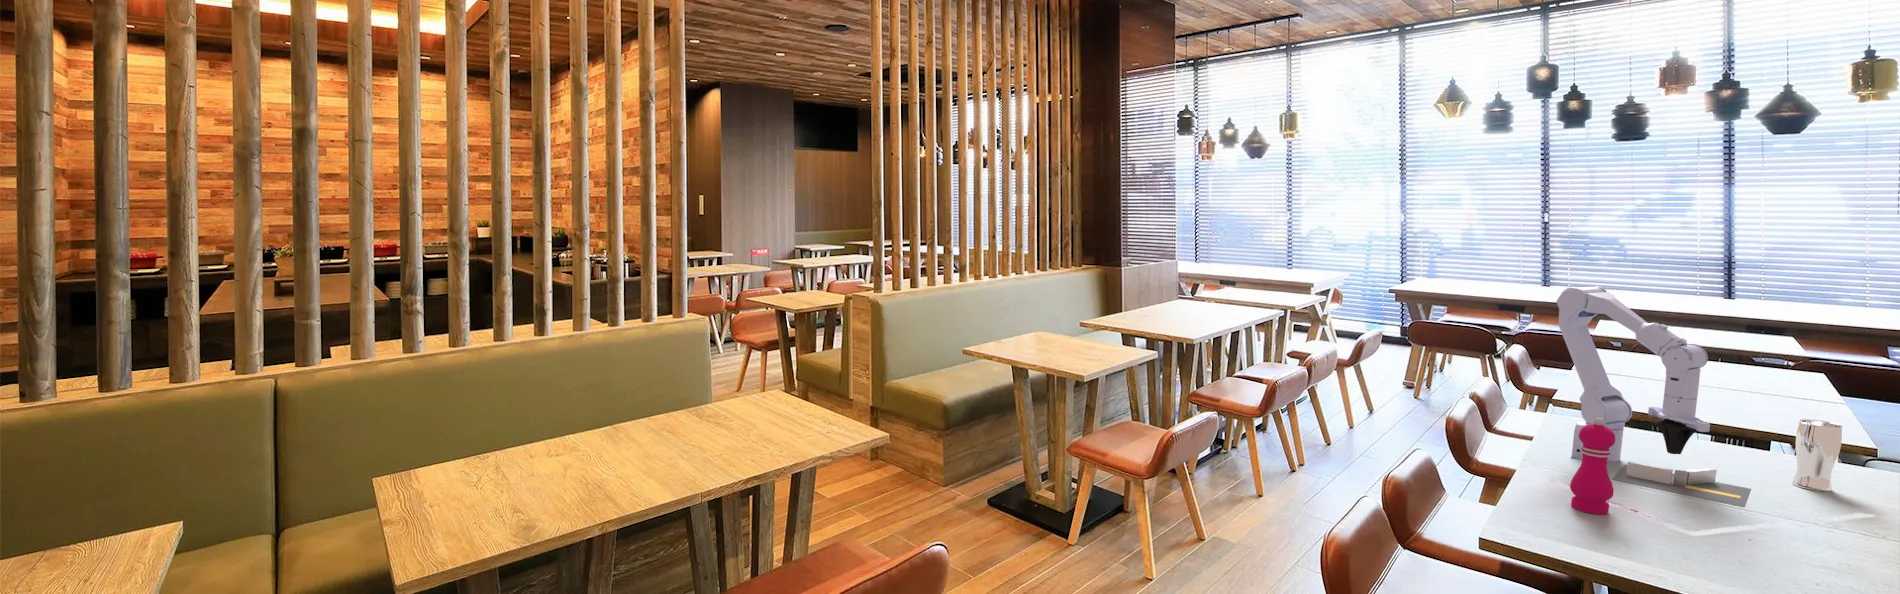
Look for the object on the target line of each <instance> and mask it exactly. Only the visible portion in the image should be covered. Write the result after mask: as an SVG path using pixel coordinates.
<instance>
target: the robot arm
mask: <svg viewBox="0 0 1900 594" xmlns="http://www.w3.org/2000/svg"><path fill="white" fill-rule="evenodd" d="M1555 302H1556V304H1557V307H1558V327H1559V329H1560V332H1561V335H1562V338H1563V340H1564V342H1565V344H1566V347H1567V350H1568V352H1569V355H1570V358H1571V360H1572V363H1573V365H1574V367H1575V370H1576V372H1577V375H1578V377H1579V380H1580V382H1581V385H1582V388H1583V392H1582V393H1581V395H1580V397H1579V402H1580V405H1581V408H1580V414H1581V417H1582V418H1583V420H1584V421H1577V422H1576V424H1575V427H1574V431H1573V440H1572V449H1571V456H1570V457H1571V458H1573V459H1582V458H1583V453H1582V452H1581V451H1580V450H1581V445H1583V443H1582V442H1581V440H1580V439H1579V432H1580V430H1581V428H1583V427H1584V426H1586V425H1589V424H1594V423H1593V420H1594V419H1595V418H1602V419H1603V420H1604V424H1603V426H1606V427H1608V428H1610V429H1611V430H1612V431H1613V432H1614V434H1615V443H1614V445H1613V446H1611V447H1610V448H1609V449H1610V450H1611V452H1610V454H1611V456H1610V457H1608V459H1607V462H1612V463H1613V462H1614V463H1615V462H1620V461H1621V457H1622V456H1621V455H1622V447H1623V446H1622V445H1623V436H1624V427H1625V425H1626V422H1628V421H1629V420H1630V419H1631V418H1632V416H1633V408H1632V405H1631V404H1630V403H1629V402H1628V401H1627V399H1625V397H1623V394H1622V392H1621V391H1620V390H1618V389H1617V388H1616V387H1614V386H1613V385H1612V384H1611V382H1610V379H1609V377H1608V374H1607V372H1606V370H1605V367H1604V365H1603V363H1602V359H1601V358H1600V355H1599V353H1598V349H1597V347H1596V344H1595V343H1594V340H1593V338H1592V336H1591V332H1590V331H1589V327H1588V325H1589V324H1590V322H1591V321H1592V319H1593V318H1594V317H1595V316H1597V315H1598V314H1601V315H1605V316H1607V317H1609V318H1611V320H1614V321H1615V322H1617V323H1618V324H1620V325H1621V326H1624V328H1627V329H1628V330H1630V331H1632V332H1633V333H1634V334H1635V339H1636V341H1637V342H1638V343H1640V345H1642V346H1644V347H1645V348H1647V349H1648V350H1649V351H1651V352H1652V353H1654V354H1655V355H1656V356H1657V357H1659V358H1660V360H1661V363H1662V364H1663V366H1664V367H1665V382H1664V391H1663V400H1662V408H1661V407H1659V406H1648V410H1647V411H1648V412H1647V415H1648V416H1653V417H1657V418H1660V419H1663V420H1662V421H1657V423H1656V425H1657V426H1658V428H1659V430H1660V432H1661V433H1662V437H1663V440H1664V443H1665V448H1666V452H1667V453H1668V454H1670V455H1682V453H1683V450H1684V448H1685V447H1686V444H1687V443H1688V441H1689V440H1690V438H1691V437H1692V436H1693V435H1694V434H1695V433H1696V432H1698V433H1700V432H1701V433H1710V428H1711V423H1709V422H1706V421H1705V420H1703V419H1701V418H1699V417H1697V416H1696V411H1697V405H1698V404H1697V402H1698V396H1699V386H1700V377H1701V369H1702V368H1704V366H1705V365H1707V363H1708V360H1709V356H1708V352H1707V351H1706V350H1705V349H1704V348H1703V347H1702V346H1701V345H1699V344H1697V343H1688V341H1687V339H1686V338H1682V337H1681V338H1680V337H1679V336H1677V335H1676V334H1675V333H1673V332H1671V331H1670V330H1669V326H1667V325H1666V324H1664V323H1658V322H1650V323H1649V322H1647V320H1644V318H1643V317H1641V316H1639V315H1638V314H1637V313H1636V312H1634V311H1633V310H1631V309H1630V308H1629V307H1628V306H1627V305H1625V304H1623V302H1621V301H1619V299H1618V298H1616V296H1615V295H1614V293H1612V292H1609V291H1607V289H1605V288H1604V287H1601V286H1598V285H1596V286H1588V287H1587V286H1585V287H1573V286H1572V287H1567V288H1565V289H1564V290H1563V291H1562V292H1561V293H1560V295H1559V296H1558V298H1557V300H1556V301H1555Z"/></svg>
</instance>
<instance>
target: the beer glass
mask: <svg viewBox="0 0 1900 594" xmlns="http://www.w3.org/2000/svg"><path fill="white" fill-rule="evenodd" d="M1842 435H1843V425H1841V424H1839V423H1835V422H1831V421H1825V420H1819V419H1808V418H1807V419H1805V418H1804V419H1800V420H1799V423H1798V427H1797V430H1796V436H1795V453H1796V454H1795V455H1796V463H1797V464H1796V465H1797V466H1796V467H1797V469H1796V471H1795V472H1796V473H1795V475H1794V478H1793V480H1792V485H1794V486H1795V487H1799V488H1802V489H1805V490H1809V491H1815V492H1831V491H1832V490H1833V489H1832V488H1833V487H1832V480H1831V479H1832V478H1831V477H1832V472H1833V469H1834V467H1835V464H1836V461H1837V460H1838V457H1839V455H1840V451H1841V447H1842V439H1843V438H1842Z"/></svg>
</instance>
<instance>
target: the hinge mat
mask: <svg viewBox="0 0 1900 594" xmlns="http://www.w3.org/2000/svg"><path fill="white" fill-rule="evenodd" d="M1673 472H1674V473H1673ZM1687 476H1688V472H1686V471H1684V470H1680V469H1676V470H1674V469H1672V468H1669V467H1668V468H1667V467H1661V466H1656V465H1653V464H1652V465H1651V464H1646V463H1641V462H1636V461H1629V460H1628V461H1627V464H1624V465H1623V466H1622V467H1621V468H1620V470H1619V471H1618V472H1617V473H1616V474H1615V475H1614V476H1613V477H1612V479H1611V481H1615V482H1618V483H1619V482H1621V483H1625V484H1628V485H1634V486H1638V487H1644V488H1649V489H1652V490H1653V489H1654V490H1657V491H1658V490H1659V491H1663V492H1668V493H1673V494H1677V495H1683V496H1686V497H1691V498H1692V497H1693V498H1698V499H1702V500H1707V501H1712V502H1717V503H1722V504H1728V505H1730V506H1731V505H1732V506H1736V507H1741V508H1745V507H1746V505H1747V501H1748V499H1749V497H1750V493H1751V491H1752V488H1749V487H1745V486H1739V485H1733V484H1729V483H1724V482H1723V483H1722V482H1719V481H1718V482H1717V481H1715V482H1713V483H1703V484H1692V485H1687Z"/></svg>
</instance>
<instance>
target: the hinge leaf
mask: <svg viewBox="0 0 1900 594" xmlns="http://www.w3.org/2000/svg"><path fill="white" fill-rule="evenodd" d="M1683 471H1686V472H1688V476H1687V485H1692V484H1703V483H1713V482H1716V478H1717V477H1716V476H1717V469H1715V468H1713V467H1712V468H1711V467H1706V468H1694V469H1685V470H1683Z"/></svg>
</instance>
